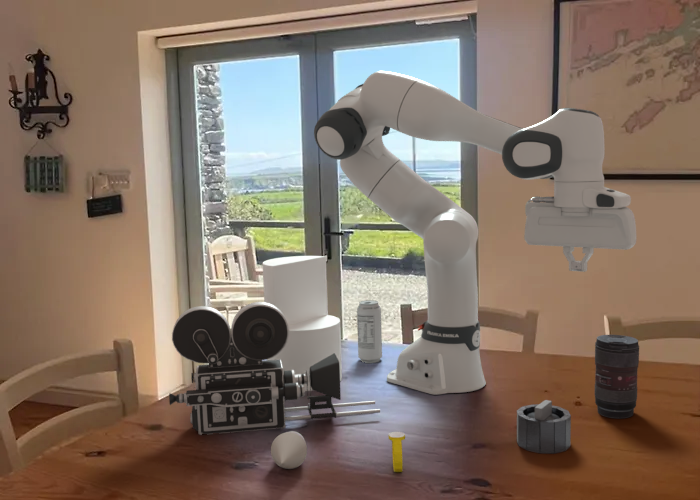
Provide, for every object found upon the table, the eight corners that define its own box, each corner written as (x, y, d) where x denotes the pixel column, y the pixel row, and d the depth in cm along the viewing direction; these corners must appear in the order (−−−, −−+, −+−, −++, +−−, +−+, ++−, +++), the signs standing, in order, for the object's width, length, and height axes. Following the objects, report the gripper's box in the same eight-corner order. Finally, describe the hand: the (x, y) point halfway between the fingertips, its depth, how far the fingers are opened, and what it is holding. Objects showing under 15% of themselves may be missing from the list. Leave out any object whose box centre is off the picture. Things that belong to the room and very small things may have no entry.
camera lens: (641, 421, 142) (642, 344, 140) (596, 419, 143) (597, 343, 142) (634, 406, 150) (635, 333, 148) (591, 405, 151) (592, 333, 149)
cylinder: (252, 382, 173) (246, 263, 170) (304, 364, 186) (299, 254, 183) (305, 396, 162) (301, 269, 158) (357, 376, 175) (353, 258, 171)
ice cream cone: (279, 491, 117) (291, 466, 132) (309, 466, 116) (318, 444, 131) (254, 460, 117) (269, 439, 132) (283, 435, 117) (295, 417, 132)
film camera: (171, 444, 137) (163, 317, 134) (176, 422, 149) (168, 305, 146) (384, 426, 143) (381, 304, 140) (372, 405, 155) (369, 293, 152)
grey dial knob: (521, 429, 131) (521, 405, 130) (534, 420, 135) (534, 396, 135) (552, 436, 128) (552, 411, 127) (564, 426, 132) (564, 402, 132)
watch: (407, 476, 121) (406, 441, 120) (390, 477, 121) (389, 441, 120) (404, 461, 127) (404, 427, 126) (388, 461, 127) (387, 428, 126)
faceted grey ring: (509, 446, 132) (509, 415, 131) (529, 430, 139) (529, 401, 138) (558, 457, 126) (558, 425, 126) (577, 440, 134) (577, 410, 133)
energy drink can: (387, 359, 189) (385, 301, 187) (371, 365, 184) (369, 305, 182) (369, 355, 193) (367, 298, 191) (353, 360, 188) (351, 302, 187)
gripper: (518, 197, 141) (518, 269, 143) (629, 198, 129) (628, 277, 131) (532, 195, 146) (531, 264, 148) (640, 196, 134) (638, 272, 136)
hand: (578, 270), depth 139 cm, fingers closed
